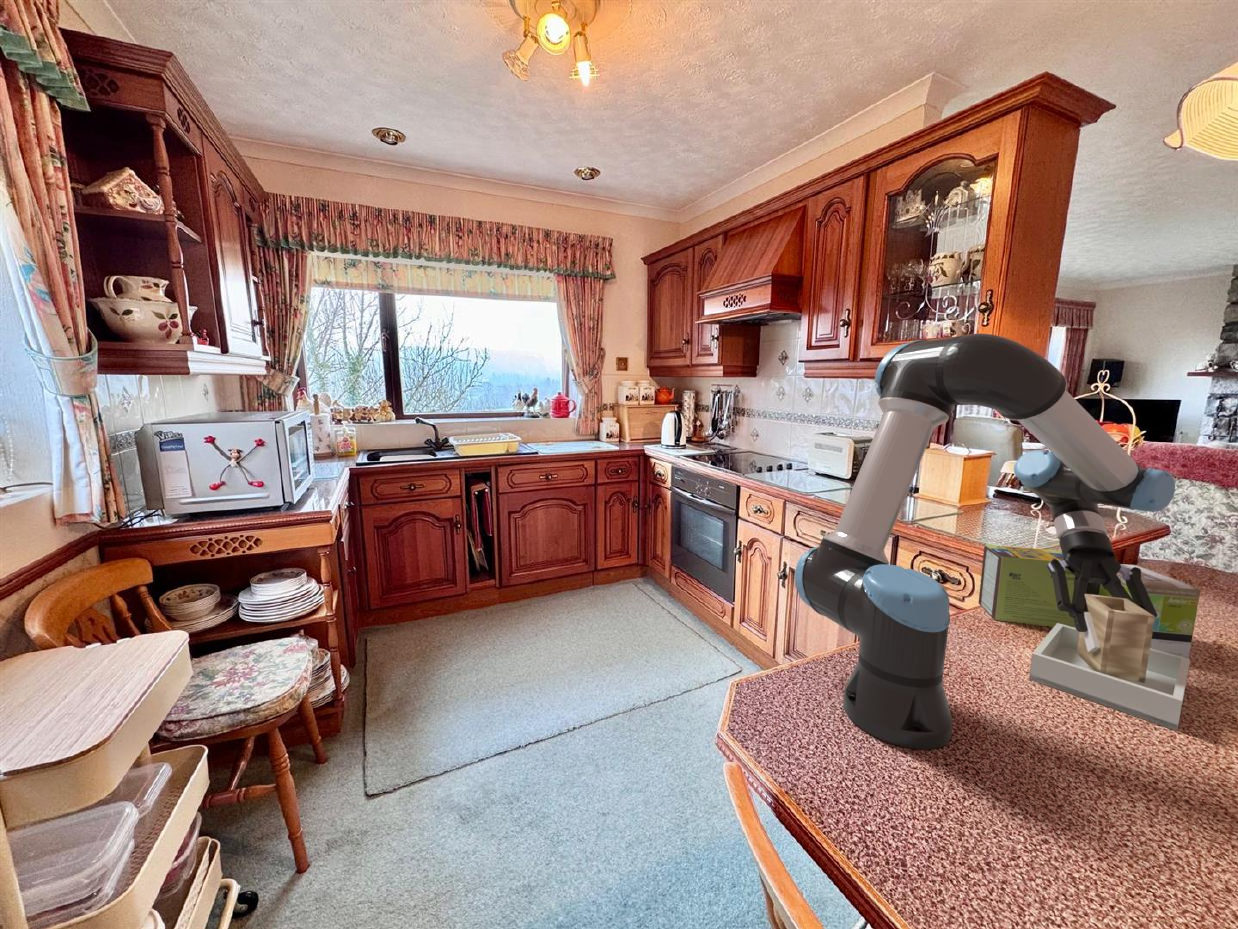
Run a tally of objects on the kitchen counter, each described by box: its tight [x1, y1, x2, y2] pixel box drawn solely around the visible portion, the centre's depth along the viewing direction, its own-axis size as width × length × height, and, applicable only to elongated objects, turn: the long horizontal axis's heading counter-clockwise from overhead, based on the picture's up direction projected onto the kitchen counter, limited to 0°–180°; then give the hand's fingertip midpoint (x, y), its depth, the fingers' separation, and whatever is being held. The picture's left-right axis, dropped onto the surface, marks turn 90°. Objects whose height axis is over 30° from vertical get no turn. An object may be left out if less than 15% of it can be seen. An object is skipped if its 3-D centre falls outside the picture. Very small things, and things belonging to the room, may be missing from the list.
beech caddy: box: [1077, 594, 1155, 683], centre depth 87 cm, size 6×8×12 cm
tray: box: [1028, 623, 1191, 732], centre depth 88 cm, size 18×20×5 cm
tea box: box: [1086, 563, 1201, 659], centre depth 104 cm, size 15×10×15 cm
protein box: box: [978, 544, 1076, 628], centre depth 115 cm, size 10×15×16 cm
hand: (1118, 653), depth 86 cm, fingers closed on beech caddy, 6 cm apart
